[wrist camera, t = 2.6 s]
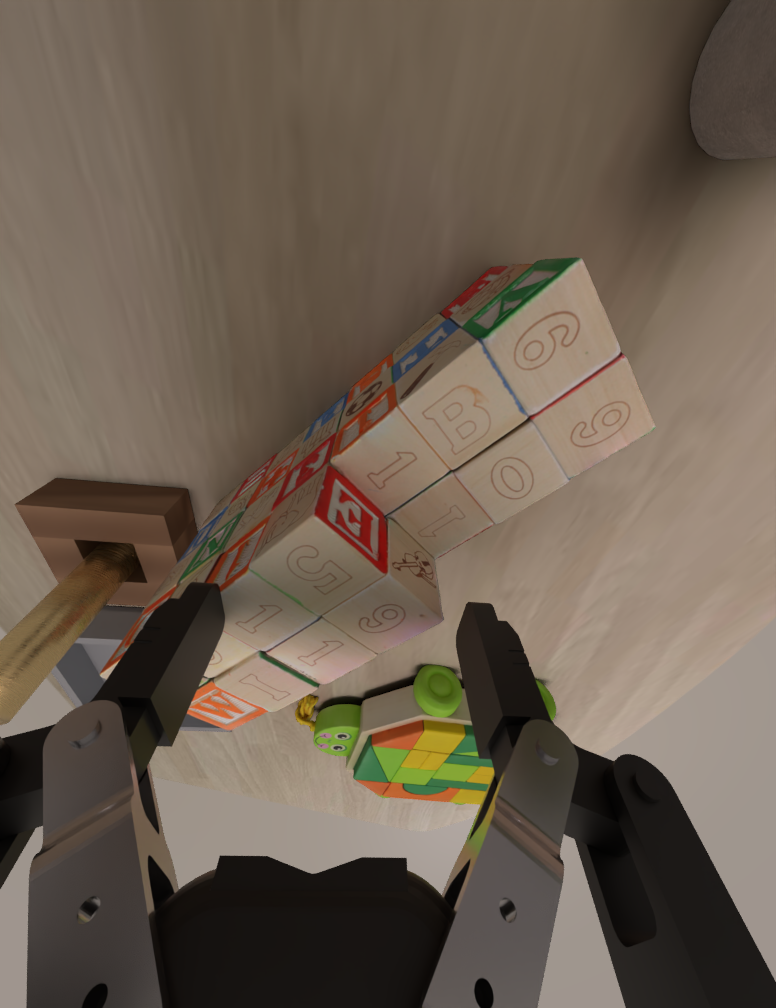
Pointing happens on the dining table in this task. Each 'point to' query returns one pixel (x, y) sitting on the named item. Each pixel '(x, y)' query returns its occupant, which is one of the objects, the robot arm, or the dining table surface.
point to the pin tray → (104, 660)
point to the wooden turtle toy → (410, 739)
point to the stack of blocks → (404, 485)
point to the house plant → (737, 84)
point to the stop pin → (59, 622)
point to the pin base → (111, 528)
